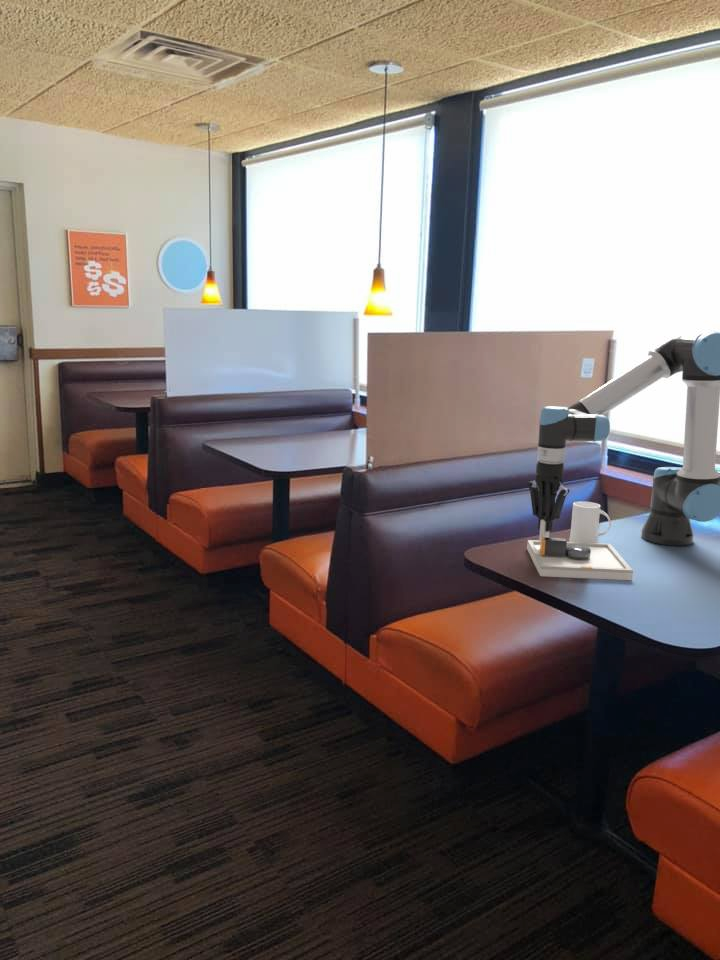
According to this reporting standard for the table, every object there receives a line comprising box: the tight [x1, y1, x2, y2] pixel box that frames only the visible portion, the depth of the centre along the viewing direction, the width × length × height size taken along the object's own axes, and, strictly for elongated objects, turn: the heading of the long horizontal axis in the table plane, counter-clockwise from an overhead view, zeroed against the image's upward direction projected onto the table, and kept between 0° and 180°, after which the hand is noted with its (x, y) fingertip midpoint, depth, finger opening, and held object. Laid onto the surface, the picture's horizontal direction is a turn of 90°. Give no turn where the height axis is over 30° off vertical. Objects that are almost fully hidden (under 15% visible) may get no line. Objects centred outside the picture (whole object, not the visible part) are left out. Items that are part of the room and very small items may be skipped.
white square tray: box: [526, 539, 634, 581], centre depth 214 cm, size 24×24×3 cm
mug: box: [568, 500, 612, 543], centre depth 233 cm, size 12×8×12 cm
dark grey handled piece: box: [540, 537, 591, 559], centre depth 213 cm, size 14×7×4 cm, turn 86°
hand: (543, 541), depth 221 cm, fingers closed
